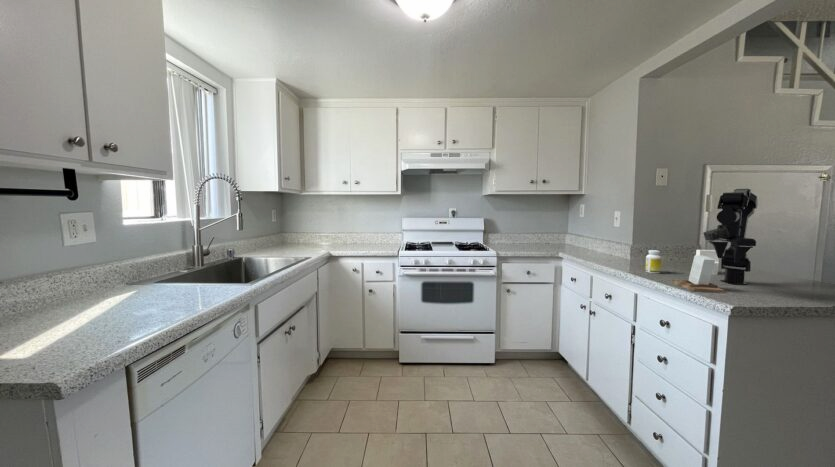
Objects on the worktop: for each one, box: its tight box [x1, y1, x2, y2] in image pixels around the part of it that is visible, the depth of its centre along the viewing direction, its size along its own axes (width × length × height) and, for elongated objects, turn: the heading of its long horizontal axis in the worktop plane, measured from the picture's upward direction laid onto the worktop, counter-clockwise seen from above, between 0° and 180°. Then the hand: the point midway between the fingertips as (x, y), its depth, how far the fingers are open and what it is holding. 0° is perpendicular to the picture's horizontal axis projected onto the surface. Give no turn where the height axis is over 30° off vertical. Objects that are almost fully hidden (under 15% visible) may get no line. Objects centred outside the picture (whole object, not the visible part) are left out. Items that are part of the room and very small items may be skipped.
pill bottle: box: [645, 249, 662, 274], centre depth 163 cm, size 6×6×12 cm
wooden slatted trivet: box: [672, 279, 725, 294], centre depth 134 cm, size 14×11×2 cm
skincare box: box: [687, 254, 715, 285], centre depth 133 cm, size 6×4×12 cm
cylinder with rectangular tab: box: [695, 249, 720, 276], centre depth 162 cm, size 9×9×12 cm
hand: (727, 260), depth 130 cm, fingers open, 9 cm apart
